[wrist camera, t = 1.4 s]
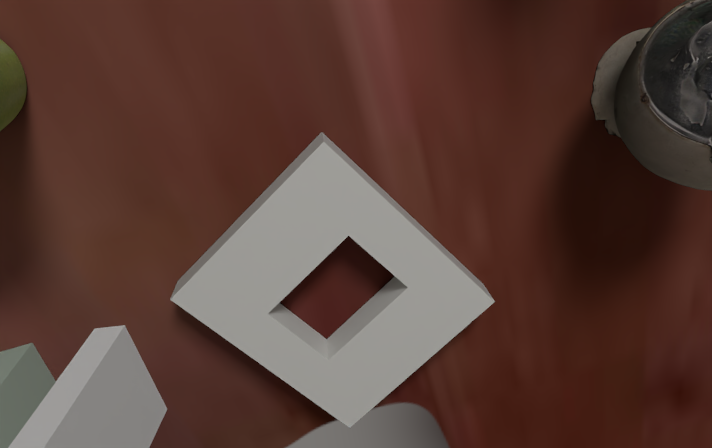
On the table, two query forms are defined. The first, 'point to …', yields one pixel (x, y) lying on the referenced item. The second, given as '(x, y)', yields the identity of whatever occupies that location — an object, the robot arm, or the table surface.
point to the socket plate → (302, 255)
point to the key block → (21, 389)
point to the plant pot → (10, 85)
